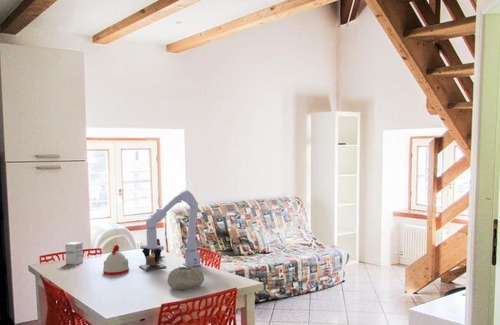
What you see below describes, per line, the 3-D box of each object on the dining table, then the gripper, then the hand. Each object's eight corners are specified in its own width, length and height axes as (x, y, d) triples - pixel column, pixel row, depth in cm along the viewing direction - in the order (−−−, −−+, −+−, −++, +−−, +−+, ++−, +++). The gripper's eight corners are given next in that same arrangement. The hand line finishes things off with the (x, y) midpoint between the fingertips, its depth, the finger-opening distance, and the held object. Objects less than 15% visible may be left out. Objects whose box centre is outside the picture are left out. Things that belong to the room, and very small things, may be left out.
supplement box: (65, 264, 273) (64, 243, 273) (73, 261, 280) (72, 241, 280) (75, 265, 271) (74, 244, 271) (83, 262, 278) (82, 242, 278)
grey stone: (187, 280, 231) (187, 261, 230) (212, 286, 219) (211, 266, 219) (160, 289, 217) (159, 269, 217) (185, 296, 206) (184, 274, 205)
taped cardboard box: (154, 265, 257) (154, 256, 256) (146, 265, 258) (145, 255, 258) (159, 263, 262) (158, 254, 262) (150, 263, 263) (150, 253, 263)
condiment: (148, 259, 282) (147, 240, 281) (155, 256, 290) (155, 237, 289) (158, 259, 279) (157, 240, 279) (165, 256, 287) (164, 238, 287)
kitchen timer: (132, 268, 259) (131, 243, 258) (123, 275, 245) (122, 248, 245) (109, 268, 260) (108, 243, 260) (99, 275, 246) (98, 248, 246)
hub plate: (166, 267, 258) (166, 261, 258) (146, 271, 252) (146, 264, 251) (158, 263, 268) (158, 257, 268) (139, 267, 262) (138, 260, 262)
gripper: (166, 237, 261) (166, 260, 261) (144, 236, 266) (145, 259, 266) (160, 239, 254) (160, 263, 255) (138, 239, 259) (138, 262, 259)
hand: (152, 261), depth 260 cm, fingers closed on taped cardboard box, 5 cm apart
